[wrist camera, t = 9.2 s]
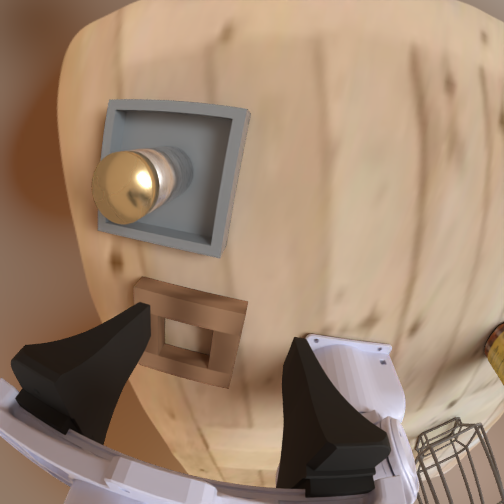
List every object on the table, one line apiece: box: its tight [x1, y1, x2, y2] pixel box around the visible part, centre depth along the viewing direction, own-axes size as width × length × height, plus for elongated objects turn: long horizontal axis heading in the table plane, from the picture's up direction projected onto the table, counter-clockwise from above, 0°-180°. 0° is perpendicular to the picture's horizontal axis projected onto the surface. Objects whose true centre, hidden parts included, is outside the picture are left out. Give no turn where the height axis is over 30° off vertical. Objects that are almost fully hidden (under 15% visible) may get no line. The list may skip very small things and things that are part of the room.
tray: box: [98, 99, 251, 258], centre depth 19 cm, size 11×11×2 cm
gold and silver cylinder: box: [92, 146, 193, 224], centre depth 16 cm, size 4×4×7 cm
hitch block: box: [133, 277, 248, 389], centre depth 25 cm, size 10×10×2 cm
